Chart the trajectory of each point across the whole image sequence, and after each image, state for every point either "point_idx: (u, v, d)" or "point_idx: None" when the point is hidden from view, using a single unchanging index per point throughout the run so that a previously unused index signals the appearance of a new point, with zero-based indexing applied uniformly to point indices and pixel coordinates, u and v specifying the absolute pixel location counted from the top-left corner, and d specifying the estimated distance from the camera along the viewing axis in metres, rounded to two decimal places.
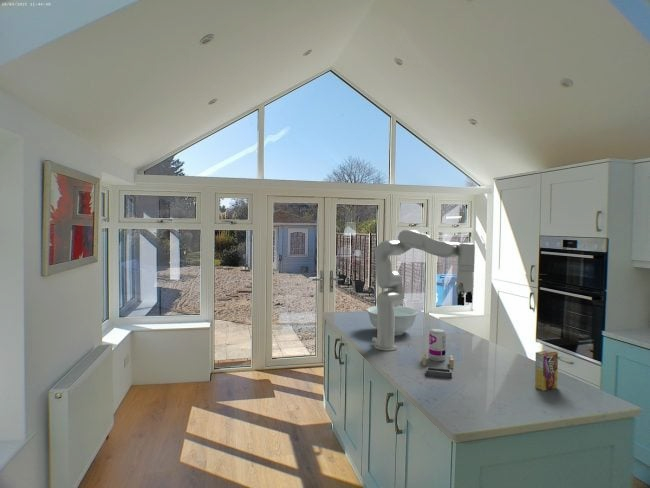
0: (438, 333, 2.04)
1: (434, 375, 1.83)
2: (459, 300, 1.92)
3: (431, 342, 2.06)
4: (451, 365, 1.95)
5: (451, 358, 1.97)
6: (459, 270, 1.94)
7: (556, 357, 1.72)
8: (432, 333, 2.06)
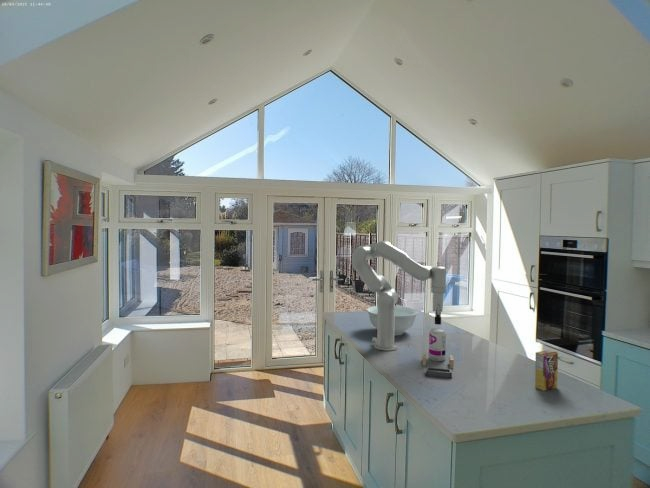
0: (438, 333, 2.04)
1: (434, 375, 1.83)
2: (437, 320, 2.15)
3: (431, 342, 2.06)
4: (451, 365, 1.95)
5: (451, 358, 1.97)
6: (435, 292, 2.13)
7: (556, 357, 1.72)
8: (432, 333, 2.06)
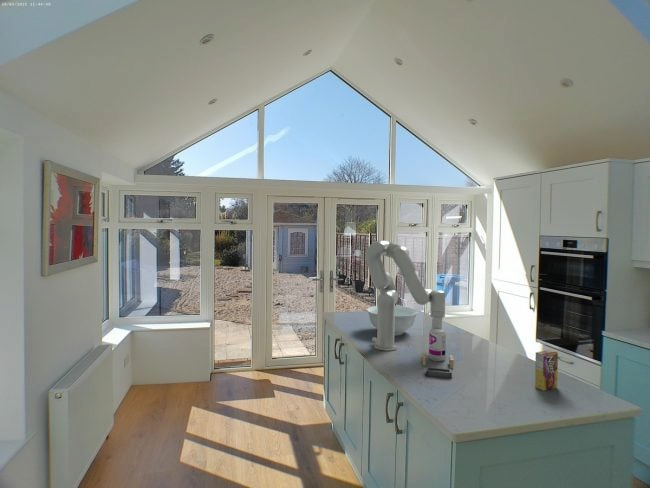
0: (438, 333, 2.04)
1: (434, 375, 1.83)
2: None
3: (431, 342, 2.06)
4: (451, 365, 1.95)
5: (451, 358, 1.97)
6: (434, 316, 2.14)
7: (556, 357, 1.72)
8: (432, 333, 2.06)
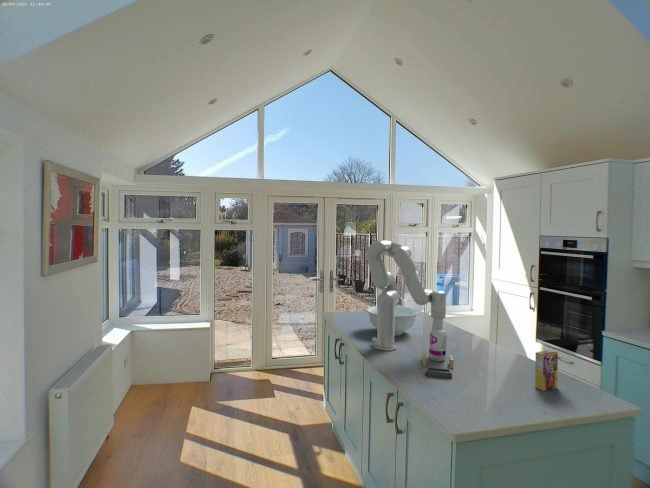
0: (439, 334, 2.03)
1: (434, 375, 1.83)
2: None
3: (432, 342, 2.05)
4: (451, 365, 1.95)
5: (451, 358, 1.97)
6: (434, 317, 2.11)
7: (556, 357, 1.72)
8: (433, 333, 2.04)
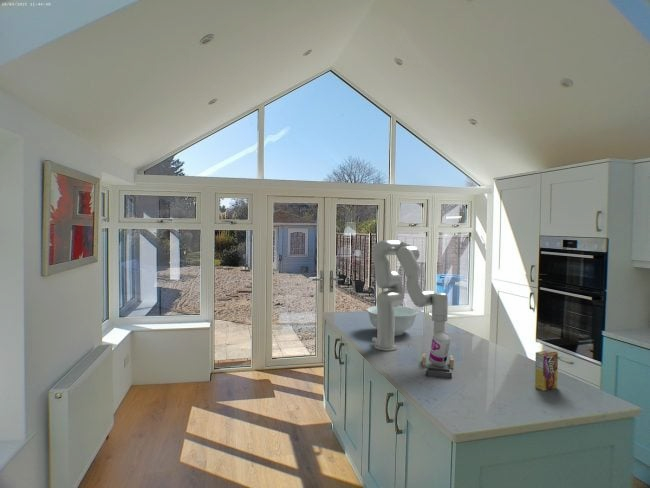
0: (442, 341, 1.91)
1: (434, 375, 1.83)
2: None
3: (434, 348, 1.95)
4: (451, 365, 1.95)
5: (451, 358, 1.97)
6: (436, 320, 2.01)
7: (556, 357, 1.72)
8: (436, 340, 1.93)
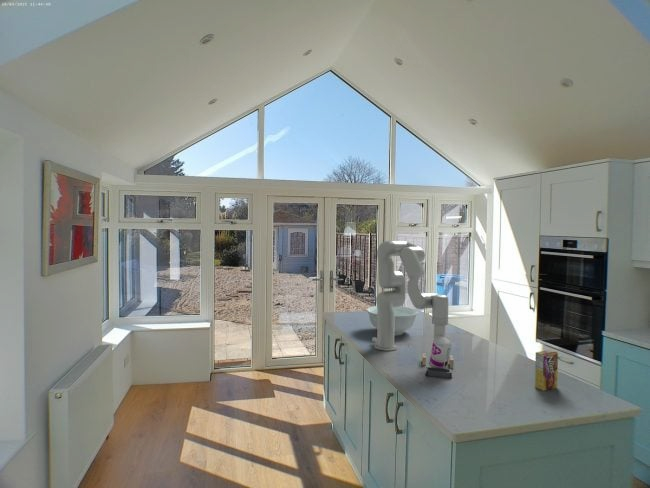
0: (444, 346, 1.84)
1: (434, 375, 1.83)
2: None
3: (434, 353, 1.88)
4: (451, 365, 1.95)
5: (451, 358, 1.97)
6: (436, 323, 1.94)
7: (556, 357, 1.72)
8: (437, 344, 1.86)
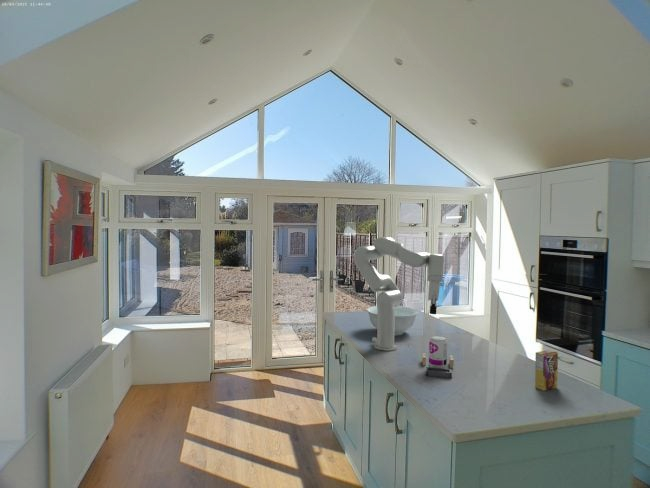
0: (440, 341, 1.89)
1: (434, 375, 1.83)
2: (432, 309, 2.07)
3: (432, 351, 1.91)
4: (451, 365, 1.95)
5: (451, 358, 1.97)
6: (431, 280, 2.05)
7: (556, 357, 1.72)
8: (433, 341, 1.90)
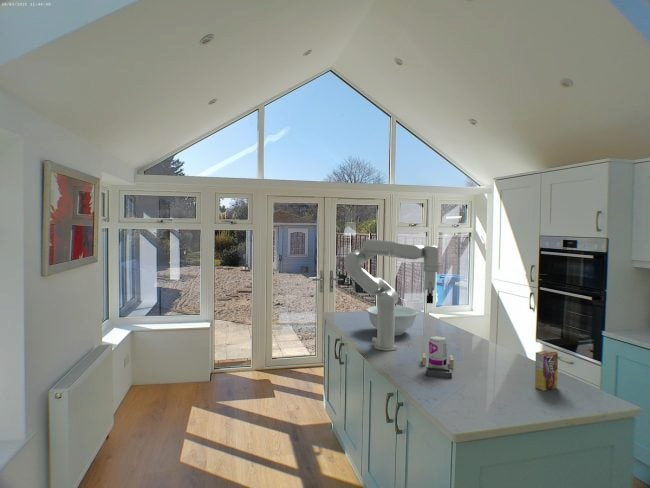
0: (439, 341, 1.89)
1: (434, 375, 1.83)
2: (429, 299, 2.16)
3: (432, 351, 1.91)
4: (451, 365, 1.95)
5: (451, 358, 1.97)
6: (427, 270, 2.14)
7: (556, 357, 1.72)
8: (433, 341, 1.90)
